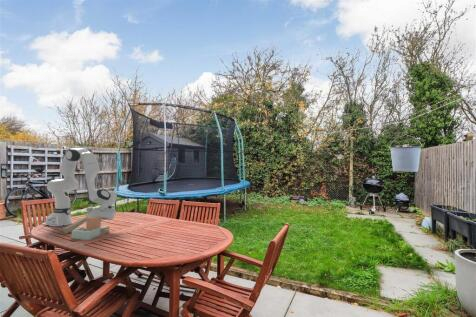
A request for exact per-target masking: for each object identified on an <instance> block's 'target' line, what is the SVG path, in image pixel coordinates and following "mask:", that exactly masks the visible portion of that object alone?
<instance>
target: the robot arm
mask: <svg viewBox="0 0 476 317" xmlns="http://www.w3.org/2000/svg"><path fill="white" fill-rule="evenodd" d="M78 162H82V166H83V169H84V170H83V171H84V175H85V176H84V177H85V178H84V180H85V185H86V190H87V202H89V204H91V205H98V204H99V203H100V202H101V203H100V205H99V206H98V207H96V208H94V207H93V209H92V211H91V212H90V213H89V215H88V217H92V216H97V217H101V222H103V221H104V220H105V221H112V220H114V218H115V215H116V213H117V211H116V208H115V207H114V205H115V202H117V197H118V195H117V192H116V191H114V190H107V189H106V188H103V187H102V188H101V187H100V188H98V189H96V184H95V179H96V177H97V176H98V175H99V172H100V164H99V162H98V159H97V157H96V155H95V154H94V152H93V151H92V149H90V148H87V147H86V148H85V147H78V148H77V147H76V148H68V149H67V150H66V151H65V153H64V156H63V159H62V161H61V163H60V164H61V165H60V168H59V173H60V174H61V175H62V176H63V178H60V179H59V178H58V179H53V180H49V181H48V182H47V183H46V189H47V191H48V192H50V193H51V195H53V197H54V202H55V203H54V204H55V207H54V208H52V213H50V214H49V215H48V216H46V219H45V221H44V222H43V223H42V226H47V225H49V226H48V227H62V226H63V225H64V226H69V225H71V224H72V223H73V222H72V215H71V210H72V209H71V208H72V207H71V198H70V196H67V195H66V194H65V193H66V192H72V191H75V190H77V189H79V188H78V187H79V183H80V182H79V181H78V180H77V179H76V176H75V173H76V168H77V165H78Z"/></svg>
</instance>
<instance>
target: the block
mask: <svg viewBox="0 0 476 317" xmlns="http://www.w3.org/2000/svg"><path fill="white" fill-rule="evenodd" d="M85 224H86V227H85V228H86V230H94V229H97V228H101V226H102V221H101V217H97V216H92V217H88V218H87V219H86V222H85Z"/></svg>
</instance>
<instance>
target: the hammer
mask: <svg viewBox="0 0 476 317" xmlns="http://www.w3.org/2000/svg"><path fill="white" fill-rule="evenodd" d="M92 209H94V207H93V206H88V207H87V208H86V209H85V210H86V212H87V214H86V215H85V216H83V217H81V218H79V219H78V220H76V221H75V222H72V224H69V225H66V226H65V227H63V228H62V232H63V234H66V235H67V234H69V233H72V230H75V229H78V228H80V226H82V225H83V224H84V223H86V219H87V218H88V215H89V213H90V212H91V211H92Z"/></svg>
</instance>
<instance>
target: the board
mask: <svg viewBox="0 0 476 317" xmlns="http://www.w3.org/2000/svg"><path fill="white" fill-rule="evenodd" d="M84 231H91V230H86V227H84ZM107 233H110V226H104V225H101V228H100V236H103V235H105V234H107Z"/></svg>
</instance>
